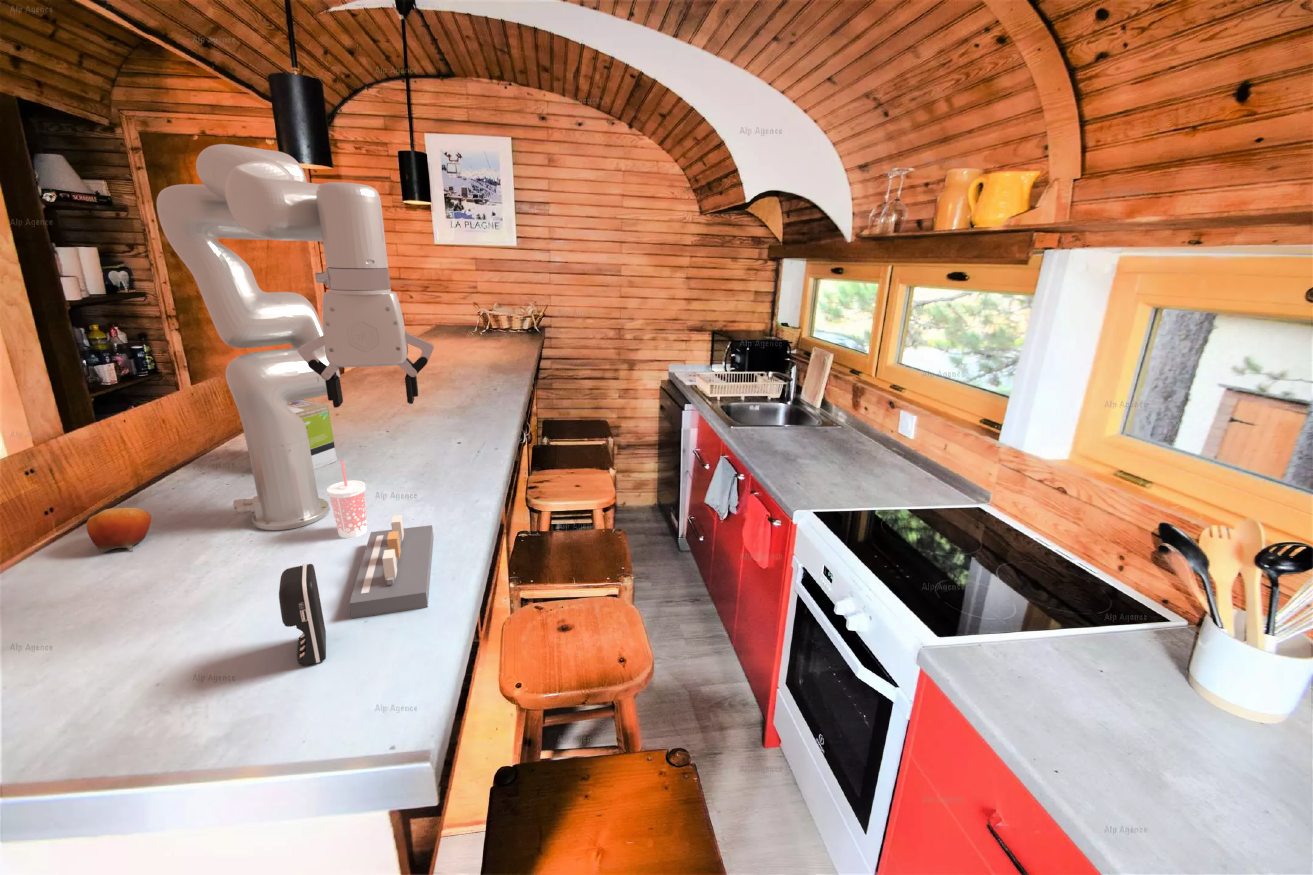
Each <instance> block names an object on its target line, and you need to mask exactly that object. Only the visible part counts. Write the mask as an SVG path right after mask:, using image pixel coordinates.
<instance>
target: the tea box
mask: <svg viewBox="0 0 1313 875" xmlns="http://www.w3.org/2000/svg"><path fill="white" fill-rule="evenodd" d="M287 407H288V408H289V409H290V410H291V411H292V412H294V413H295V414H296V415H298V416H299V417H300V418H301V419H302V420H303V422H304V423H305V426H306V429H307V434H308V439H309V445H310V451H311V457H312V463H313V469H314V471H315V470H317V469H320V468H324V467H326V466H328V465H331V464H333V463H336V462H337V461H338V459H337V452H336V447H335V439H334V435H333V434H334V433H333V427H332V421H331V416H330V415H331V414H330V409H329V404H328V403H322V402H317V401H312V400H308V399H304V400H299V401H295V402H291V403H288V404H287Z"/></svg>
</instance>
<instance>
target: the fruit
mask: <svg viewBox="0 0 1313 875" xmlns="http://www.w3.org/2000/svg"><path fill="white" fill-rule="evenodd" d="M86 521H87V522H86V532H87V534H88V537H89V539H90V541H91V542H92V544H93V545H94V546H95V547H96V548H97V549H98V550H99V551H101V552H102V553H103V554H105V553H107V552H109V551H112V550H115V549H128V550H130V552H134V551H133V547H134V546H135V545H137V544H140V543H142V542H143V540H144V539H145V538H146V536H147V534H148V532H149V530H150V527H151V522H152V515H151V514H150V513H149V512H148V511H146V510H144V509H141V508H138V507H115V508H113V507H111V508H106V509H103V510H101V511H99V512H98V513H97V514H94V515H92V516H89V518H88V519H87V520H86Z"/></svg>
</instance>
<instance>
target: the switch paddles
mask: <svg viewBox="0 0 1313 875" xmlns="http://www.w3.org/2000/svg"><path fill="white" fill-rule="evenodd" d="M390 523H391V524H390V525H391V526H390V527H391V530H392V532H389V533H388V538H387V544H388V550H384V554H383V558H382V560H383V567H384V575H385V580H387V585H391V584H393V583H394V579H396V574H397V562H398V559H399V558H400V553H401V548H400V546H401V541H403V537H404V529H403V528H404V522H403V515H402V514H397V515H393V516H392V517H391V522H390Z"/></svg>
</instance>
